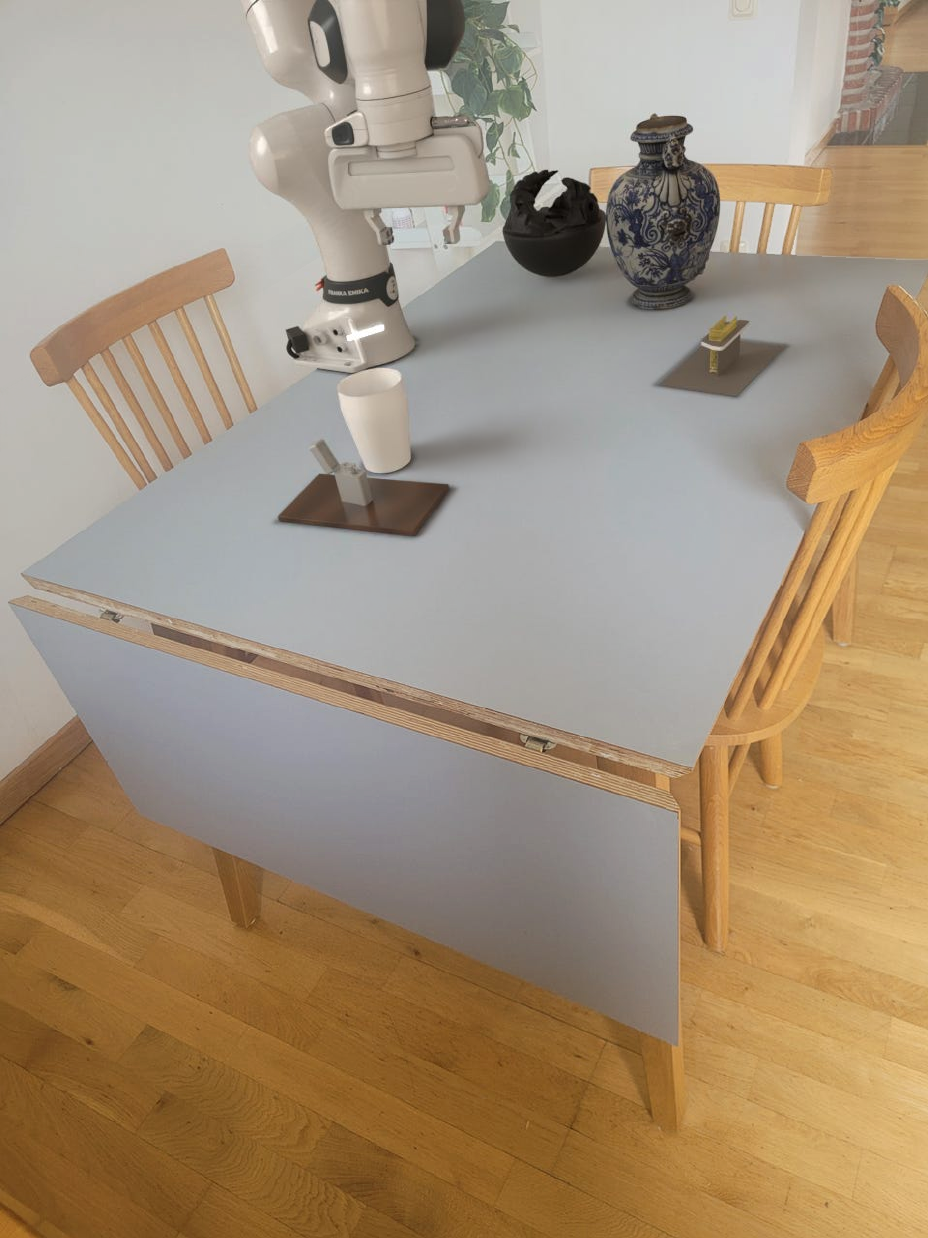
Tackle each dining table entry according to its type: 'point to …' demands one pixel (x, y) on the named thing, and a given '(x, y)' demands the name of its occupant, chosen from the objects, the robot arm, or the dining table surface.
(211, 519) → the dining table surface
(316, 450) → the lighter
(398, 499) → the walnut board
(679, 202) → the decorative vase
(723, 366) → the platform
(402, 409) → the cup
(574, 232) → the coal bowl
